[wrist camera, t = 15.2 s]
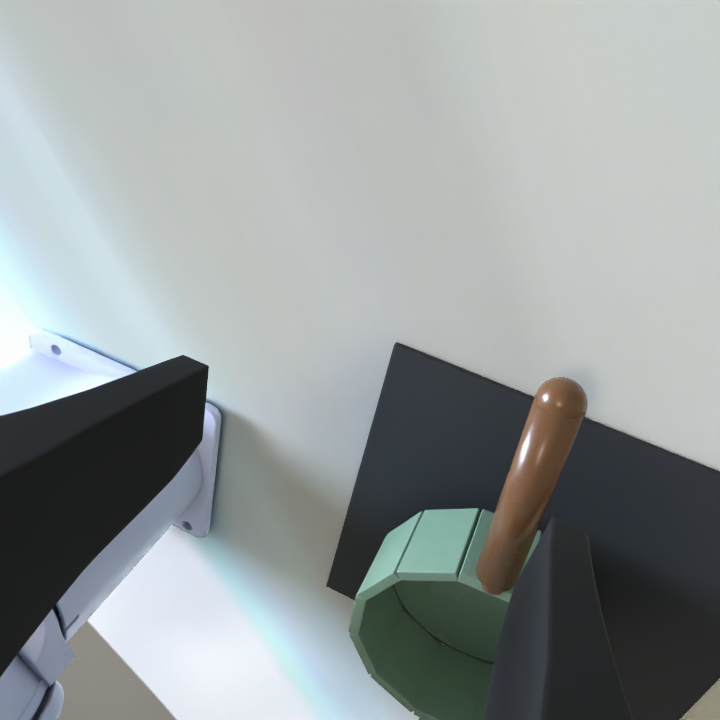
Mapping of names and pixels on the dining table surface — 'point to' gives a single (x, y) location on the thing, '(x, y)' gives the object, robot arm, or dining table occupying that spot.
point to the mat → (568, 503)
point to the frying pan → (461, 575)
